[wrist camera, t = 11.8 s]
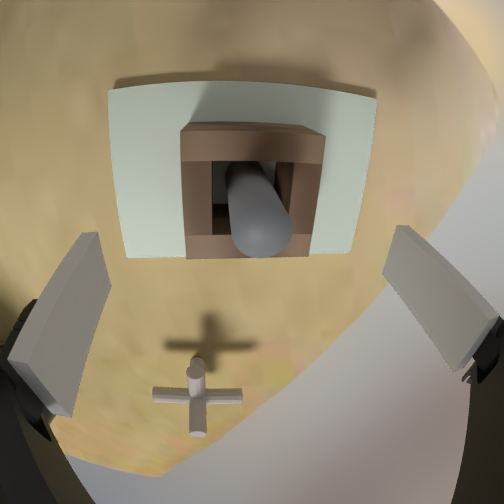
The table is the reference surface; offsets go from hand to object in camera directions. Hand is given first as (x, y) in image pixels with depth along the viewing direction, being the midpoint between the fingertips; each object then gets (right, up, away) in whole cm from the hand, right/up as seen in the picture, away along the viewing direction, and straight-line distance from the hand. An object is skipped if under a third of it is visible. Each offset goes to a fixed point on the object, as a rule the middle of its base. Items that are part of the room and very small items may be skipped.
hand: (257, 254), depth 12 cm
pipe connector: (-7, -13, +21) cm, 26 cm away
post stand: (-1, +6, +10) cm, 12 cm away
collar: (-1, +6, +9) cm, 11 cm away
